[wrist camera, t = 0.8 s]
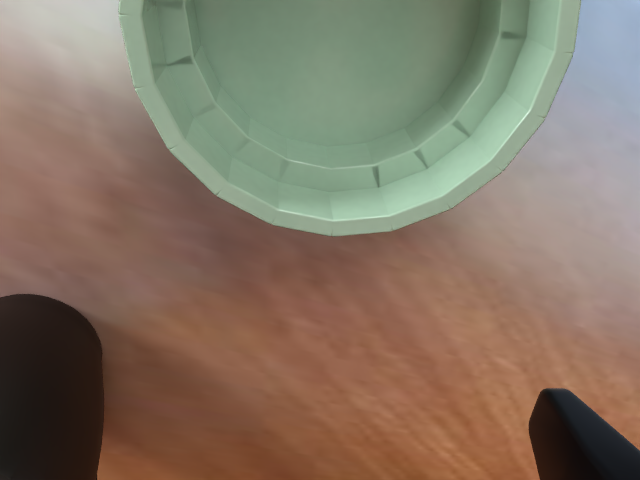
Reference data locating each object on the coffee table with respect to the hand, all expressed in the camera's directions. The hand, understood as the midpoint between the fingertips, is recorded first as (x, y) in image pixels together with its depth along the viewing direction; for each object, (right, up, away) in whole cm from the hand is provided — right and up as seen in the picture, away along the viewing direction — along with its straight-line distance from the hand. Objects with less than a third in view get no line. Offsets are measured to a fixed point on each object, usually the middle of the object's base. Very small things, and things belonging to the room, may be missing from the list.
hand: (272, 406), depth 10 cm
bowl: (+1, +11, +11) cm, 15 cm away
